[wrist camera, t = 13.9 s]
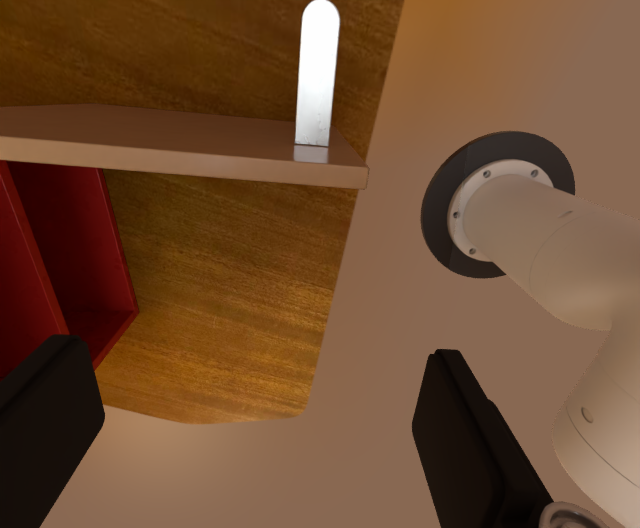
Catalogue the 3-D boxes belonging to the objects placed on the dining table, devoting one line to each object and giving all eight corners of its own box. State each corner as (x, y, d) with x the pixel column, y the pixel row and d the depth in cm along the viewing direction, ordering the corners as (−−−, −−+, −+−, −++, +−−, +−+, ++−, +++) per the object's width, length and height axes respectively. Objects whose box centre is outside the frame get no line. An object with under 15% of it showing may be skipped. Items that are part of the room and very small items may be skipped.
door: (79, 18, 33) (-360, -128, 11) (341, 47, 34) (399, -34, 13) (94, 114, 36) (-220, 142, 15) (333, 135, 38) (366, 190, 16)
